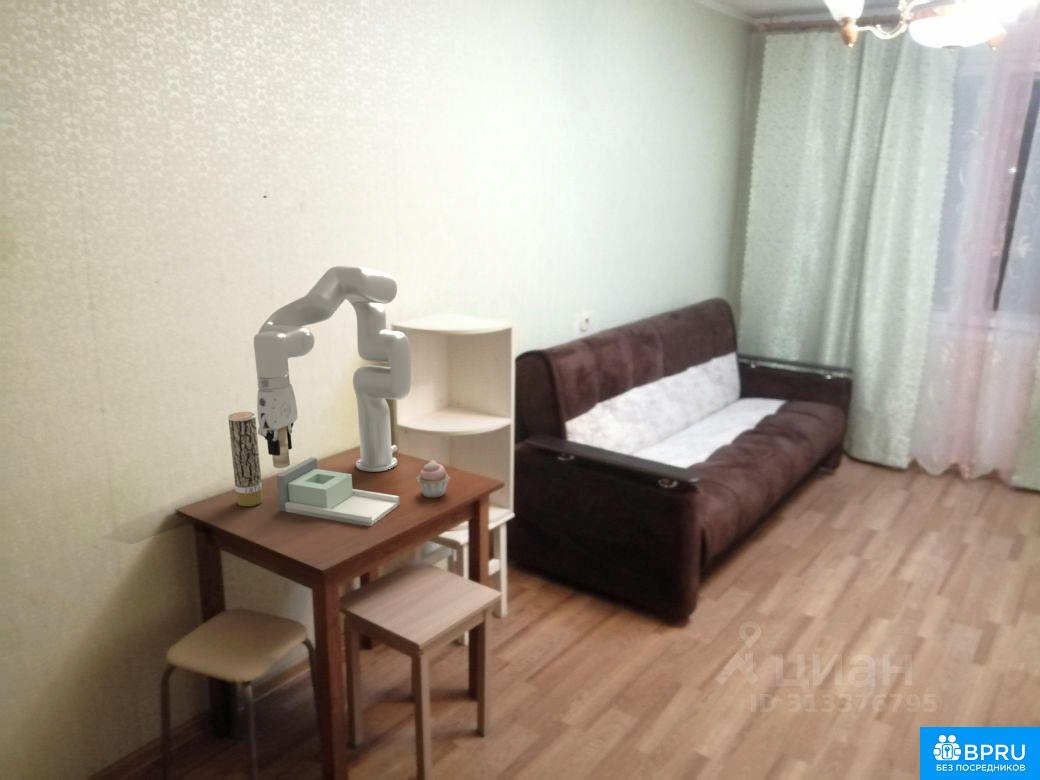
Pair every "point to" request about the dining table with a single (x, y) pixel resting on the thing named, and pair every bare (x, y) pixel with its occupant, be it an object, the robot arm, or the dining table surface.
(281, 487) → the rail base
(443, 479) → the cupcake
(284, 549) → the dining table surface
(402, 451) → the dining table surface
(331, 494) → the slide block
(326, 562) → the dining table surface
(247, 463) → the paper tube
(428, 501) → the dining table surface
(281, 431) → the dowel
